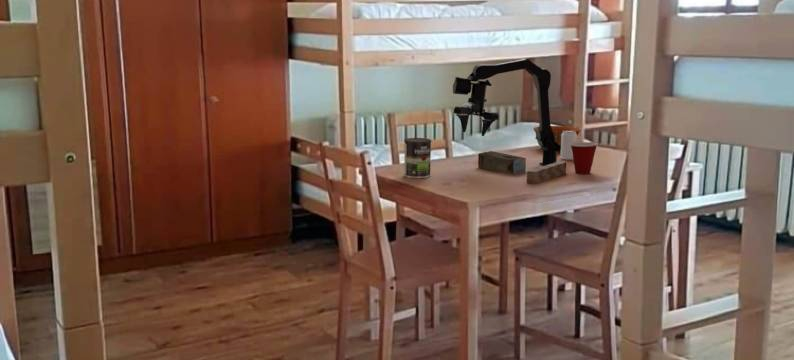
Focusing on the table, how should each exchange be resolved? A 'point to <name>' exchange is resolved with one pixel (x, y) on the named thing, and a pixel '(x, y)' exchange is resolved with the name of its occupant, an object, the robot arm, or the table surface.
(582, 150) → the plastic cup
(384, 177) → the table surface
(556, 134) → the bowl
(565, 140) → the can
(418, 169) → the coffee can
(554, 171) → the batten
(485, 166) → the beverage carton
